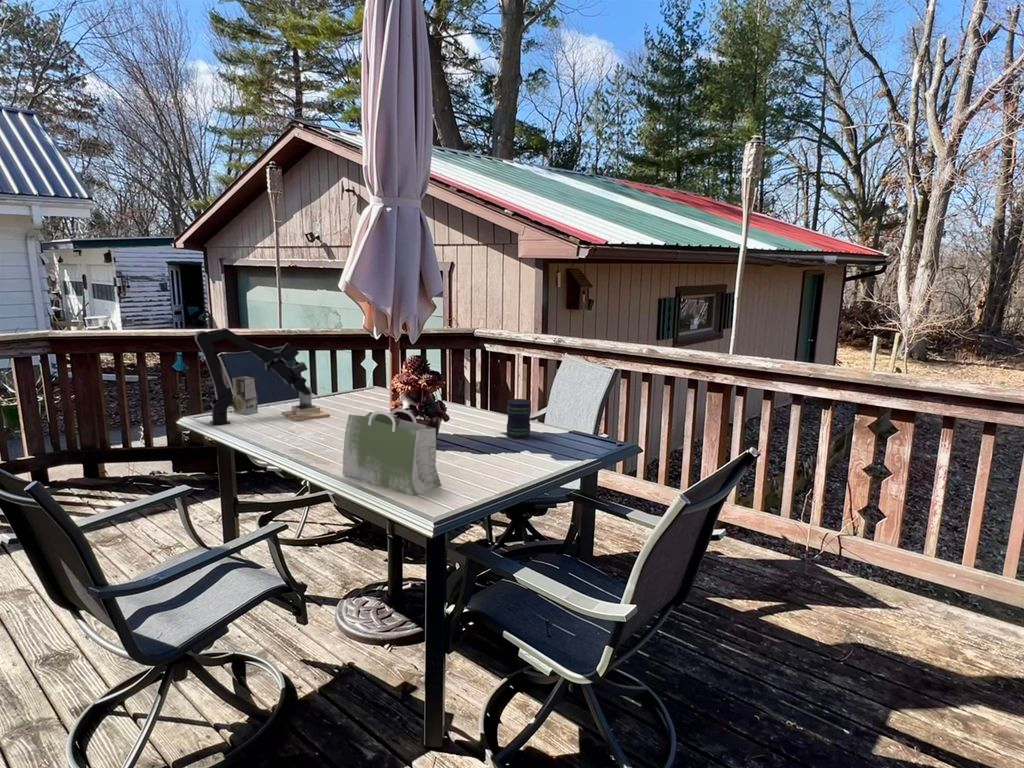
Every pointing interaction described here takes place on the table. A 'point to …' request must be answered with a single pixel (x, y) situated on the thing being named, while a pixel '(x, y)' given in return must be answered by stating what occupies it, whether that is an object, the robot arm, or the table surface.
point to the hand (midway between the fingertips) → (308, 392)
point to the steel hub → (305, 400)
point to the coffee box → (245, 395)
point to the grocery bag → (391, 452)
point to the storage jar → (518, 418)
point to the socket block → (305, 413)
